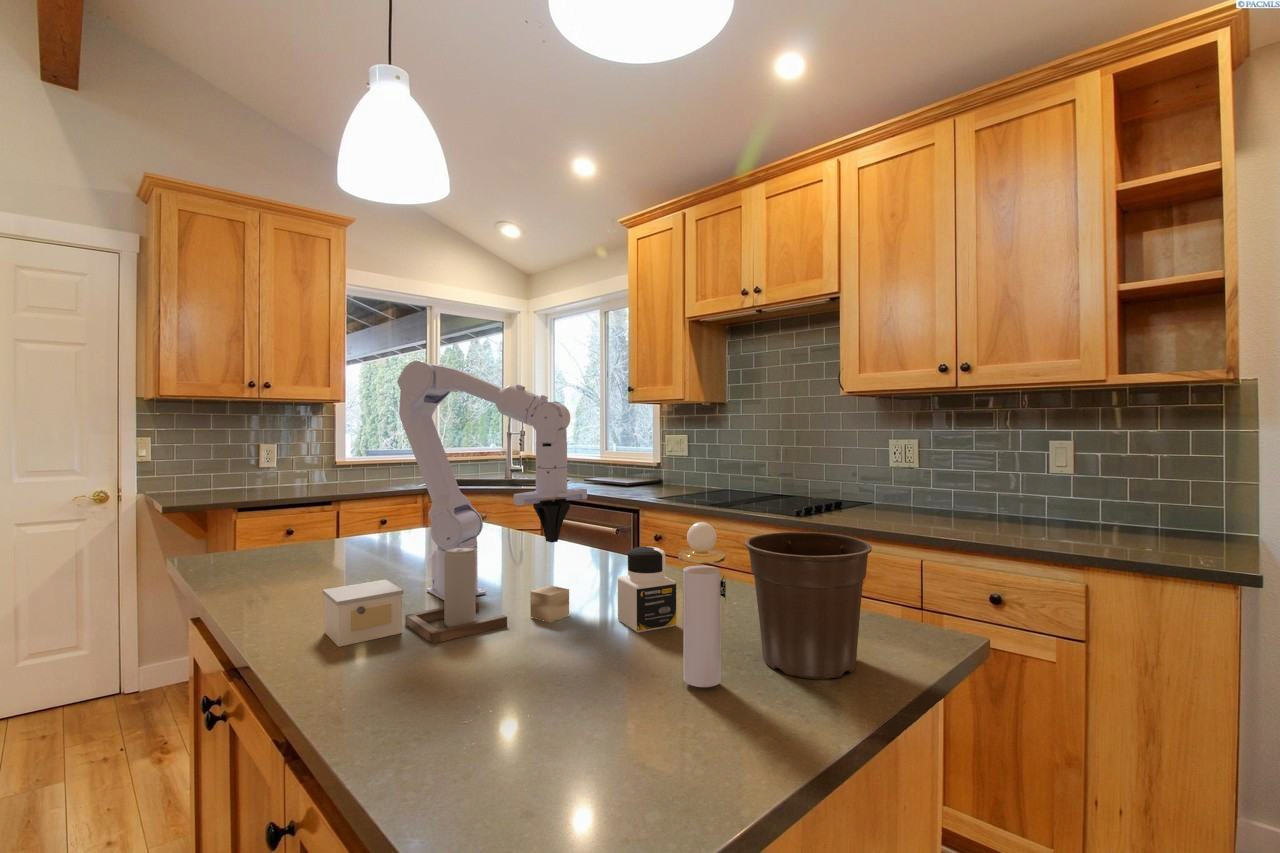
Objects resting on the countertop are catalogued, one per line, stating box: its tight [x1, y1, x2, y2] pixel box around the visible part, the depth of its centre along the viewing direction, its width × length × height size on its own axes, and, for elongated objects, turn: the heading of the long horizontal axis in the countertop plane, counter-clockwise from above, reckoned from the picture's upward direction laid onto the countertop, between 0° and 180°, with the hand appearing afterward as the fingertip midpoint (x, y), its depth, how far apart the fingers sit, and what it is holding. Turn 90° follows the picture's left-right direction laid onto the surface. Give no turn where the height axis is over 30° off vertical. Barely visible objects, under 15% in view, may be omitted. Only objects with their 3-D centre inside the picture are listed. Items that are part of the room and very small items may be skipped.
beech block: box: [529, 585, 570, 623], centre depth 102 cm, size 4×4×4 cm
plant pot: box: [744, 531, 873, 680], centre depth 82 cm, size 16×16×16 cm
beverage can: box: [443, 547, 477, 628], centre depth 98 cm, size 5×5×12 cm
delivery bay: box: [404, 600, 508, 645], centre depth 97 cm, size 11×12×2 cm
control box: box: [322, 578, 404, 648], centre depth 94 cm, size 9×9×7 cm
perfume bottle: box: [677, 521, 727, 688], centre depth 75 cm, size 6×6×20 cm
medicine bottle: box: [617, 546, 677, 634], centre depth 98 cm, size 7×7×12 cm
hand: (551, 541), depth 112 cm, fingers closed
